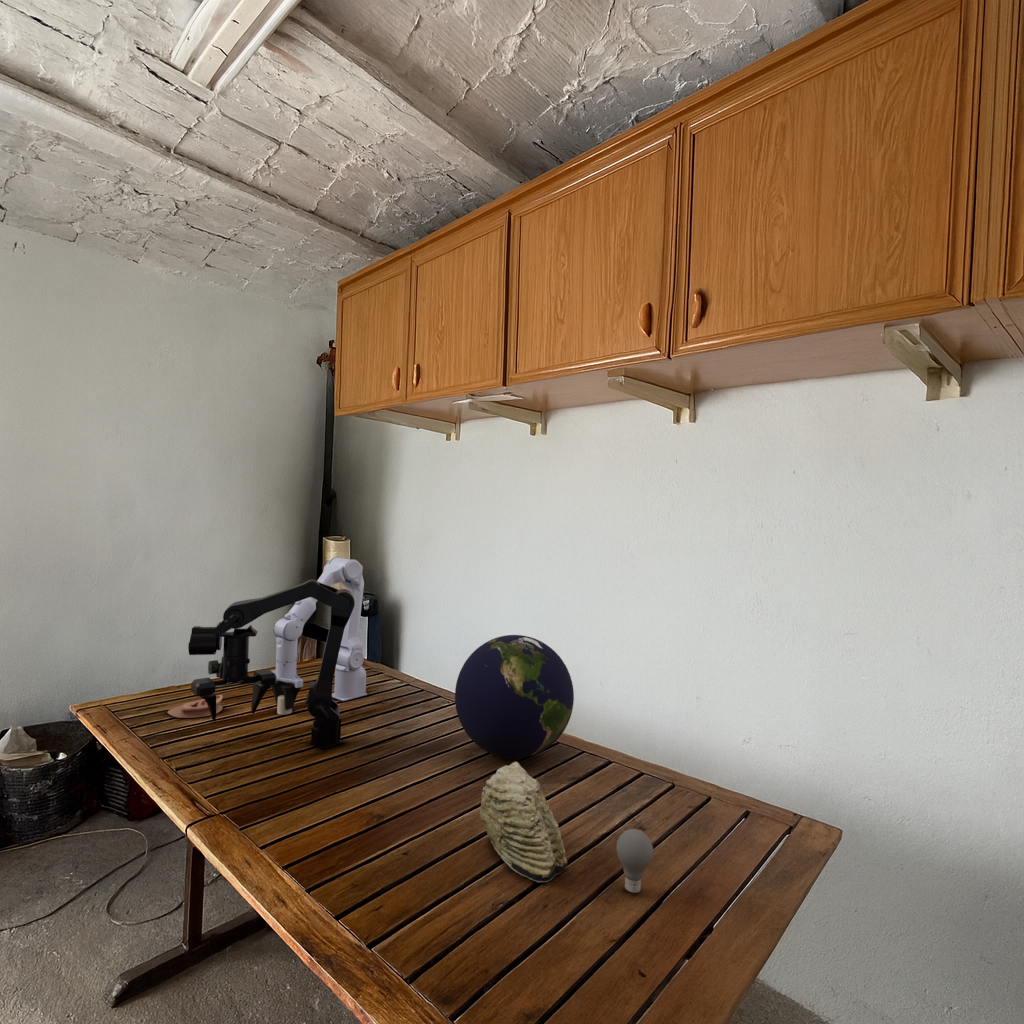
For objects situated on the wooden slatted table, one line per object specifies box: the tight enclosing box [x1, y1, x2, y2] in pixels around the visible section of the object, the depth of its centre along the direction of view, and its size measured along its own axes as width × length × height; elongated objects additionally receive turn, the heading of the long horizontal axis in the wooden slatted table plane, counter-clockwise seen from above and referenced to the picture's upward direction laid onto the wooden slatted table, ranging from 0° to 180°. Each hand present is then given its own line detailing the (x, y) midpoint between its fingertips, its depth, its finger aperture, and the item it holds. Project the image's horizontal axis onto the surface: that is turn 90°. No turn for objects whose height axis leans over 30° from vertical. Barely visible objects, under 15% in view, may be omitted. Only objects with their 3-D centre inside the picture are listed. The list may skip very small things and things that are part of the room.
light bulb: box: [615, 828, 654, 894], centre depth 106 cm, size 6×6×10 cm
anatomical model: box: [167, 694, 224, 719], centre depth 180 cm, size 13×4×12 cm
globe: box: [454, 634, 575, 760], centre depth 160 cm, size 30×30×30 cm
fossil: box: [479, 761, 569, 883], centre depth 114 cm, size 9×18×15 cm, turn 46°
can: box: [276, 695, 293, 716], centre depth 184 cm, size 4×4×5 cm
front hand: (233, 716), depth 156 cm, fingers open, 9 cm apart
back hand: (284, 707), depth 184 cm, fingers closed on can, 4 cm apart
